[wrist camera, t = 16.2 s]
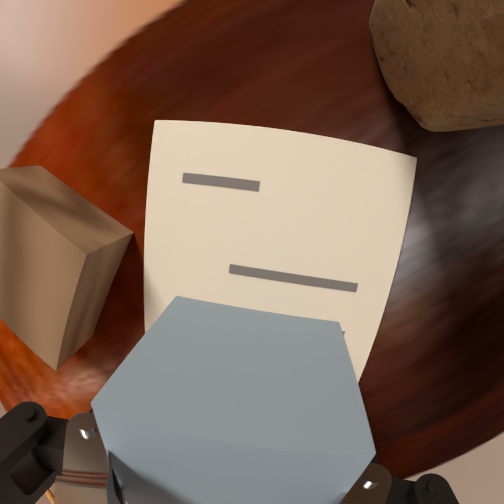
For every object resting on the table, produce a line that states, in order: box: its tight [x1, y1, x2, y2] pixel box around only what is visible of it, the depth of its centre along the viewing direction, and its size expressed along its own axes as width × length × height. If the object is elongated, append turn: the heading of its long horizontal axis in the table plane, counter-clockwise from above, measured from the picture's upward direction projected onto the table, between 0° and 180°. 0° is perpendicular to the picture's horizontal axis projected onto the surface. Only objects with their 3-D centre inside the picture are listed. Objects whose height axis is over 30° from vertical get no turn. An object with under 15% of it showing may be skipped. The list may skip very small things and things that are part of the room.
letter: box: [144, 120, 417, 382], centre depth 17 cm, size 14×20×1 cm
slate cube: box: [91, 296, 376, 504], centre depth 9 cm, size 6×6×6 cm
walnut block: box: [0, 166, 134, 371], centre depth 16 cm, size 9×9×5 cm
